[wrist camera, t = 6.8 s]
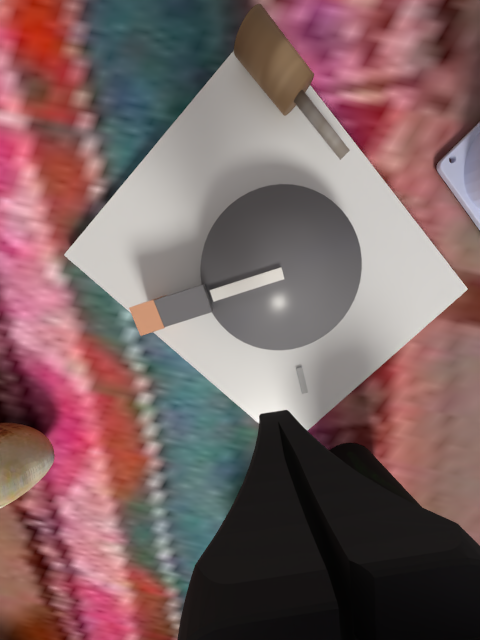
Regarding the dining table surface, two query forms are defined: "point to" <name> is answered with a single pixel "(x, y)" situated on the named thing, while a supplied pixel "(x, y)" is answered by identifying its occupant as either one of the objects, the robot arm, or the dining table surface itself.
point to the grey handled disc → (270, 271)
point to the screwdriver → (280, 71)
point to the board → (222, 190)
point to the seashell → (22, 460)
